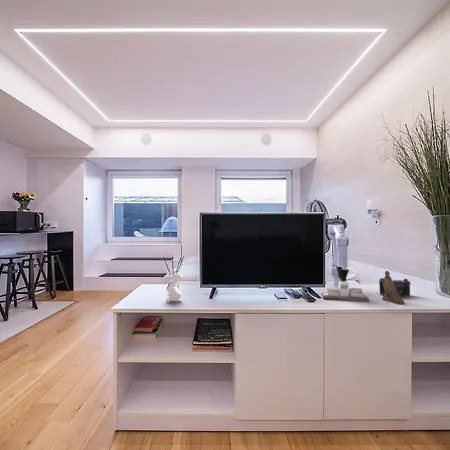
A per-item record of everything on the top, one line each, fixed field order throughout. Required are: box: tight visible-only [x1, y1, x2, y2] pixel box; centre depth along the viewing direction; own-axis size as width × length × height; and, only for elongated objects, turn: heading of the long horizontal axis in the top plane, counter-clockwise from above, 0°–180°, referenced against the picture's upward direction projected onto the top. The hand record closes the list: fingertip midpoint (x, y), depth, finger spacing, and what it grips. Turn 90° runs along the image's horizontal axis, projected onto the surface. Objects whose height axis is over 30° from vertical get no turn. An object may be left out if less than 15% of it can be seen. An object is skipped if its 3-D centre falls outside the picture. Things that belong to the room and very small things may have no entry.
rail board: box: [321, 286, 370, 302], centre depth 171 cm, size 10×24×6 cm, turn 78°
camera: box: [378, 277, 411, 297], centre depth 175 cm, size 18×9×10 cm, turn 83°
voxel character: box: [165, 272, 184, 303], centre depth 167 cm, size 7×12×15 cm
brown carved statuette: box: [381, 270, 405, 305], centre depth 165 cm, size 12×6×18 cm, turn 13°
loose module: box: [339, 281, 349, 296], centre depth 171 cm, size 5×4×7 cm
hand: (342, 280), depth 176 cm, fingers open, 7 cm apart
